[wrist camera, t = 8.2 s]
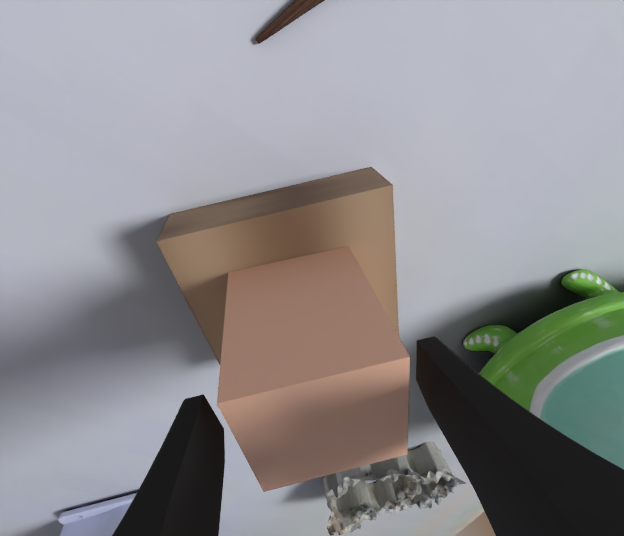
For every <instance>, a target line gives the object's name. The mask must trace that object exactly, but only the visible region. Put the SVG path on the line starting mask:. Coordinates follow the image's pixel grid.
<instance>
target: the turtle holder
mask: <svg viewBox="0 0 624 536" xmlns="http://www.w3.org/2000/svg"><path fill="white" fill-rule="evenodd" d="M561 284H562V285H563V286H564V287H565V288H566V289H568V290H570V291H572V292H574V293H576V294H578V295H581V296H583V297H585V298H586V299H587V300H584V301H581V302H578V303H575V304H572V305H570V306H568V307H565V308H563V309H561V310H558V311H556V312H554V313H552V314H550V315H548V316H546V317H544V318H542V319H540V320H539V321H537V322H535V323H533V324H532V325H530V326H528V327H527V328H525V329H524V330H522V331H521V332H520V333H516V332H515V331H513V330H512V329H510V328H508V327H506V326H503V325H489V326H485V327H482V328H479V329H477V330H476V331H474V332H472V333H471V334H469V335H468V336H467V337H466V338H465V340H464V342H463V345H464V347H465V348H466V349H468V350H471V351H490V352H492V353H494V354H495V355H494V356H493V357H492V358H491V359H490V360H489V362H488V363H487V364H486V365H485V366H484V368H483V369H482V370H481V371H480V372H479V374H480V375H481V376H483V377H484V378H485V379H486V380H488V381H489V382H490V383H492V384H493V385H494V386H495V387H497V388H498V389H499V390H501V391H502V392H503V393H505V394H506V395H507V396H509V397H510V398H511V399H513V400H514V401H515V402H517V403H518V404H520V405H521V406H522V407H524V408H525V409H527V410H528V411H529V412H531V413H532V414H534V415H535V416H537V417H538V418H540V419H541V420H543V421H544V422H546V423H547V424H549V425H550V426H552V427H553V428H555V429H556V430H558V431H560V432H561V433H563V434H564V435H566V436H567V437H569V438H571V439H572V440H574V441H576V442H577V443H579V444H580V445H582V446H584V447H585V448H587V449H589V450H590V451H592V452H594V453H595V454H597V455H599V456H601V457H602V458H604V459H606V460H608V461H610V462H611V463H613V464H615V465H617V466H619V467H620V468H622V469H624V292H618V291H617V290H616V289H615V288H614V287H613V286H611V285H610V284H609V283H608V282H606V281H605V280H604V279H603V278H601V277H600V276H598V275H597V274H595V273H593V272H591V271H589V270H577V271H573V272H571V273H569V274H567V275H565V276H564V277H563V278H562V281H561Z"/></svg>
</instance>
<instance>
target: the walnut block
mask: <svg viewBox="0 0 624 536" xmlns="http://www.w3.org/2000/svg"><path fill="white" fill-rule="evenodd" d="M156 242H157V244H158V246H159V248H160V250H161V252H162V254H163V256H164V258H165V260H166V262H167V264H168V265H169V267H170V269H171V271H172V273H173V275H174V277H175V279H176V281H177V283H178V285H179V287H180V289H181V291H182V293H183V294H184V296H185V298H186V300H187V302H188V304H189V306H190V308H191V310H192V312H193V314H194V316H195V318H196V320H197V322H198V323H199V325H200V327H201V329H202V331H203V333H204V335H205V337H206V339H207V341H208V343H209V345H210V347H211V349H212V351H213V352H214V354H215V356H216V358H217V360H218V362H219V364H221V352H222V341H223V329H224V317H225V306H226V294H227V283H228V272H233V271H238V270H242V269H247V268H251V267H256V266H260V265H265V264H269V263H274V262H278V261H283V260H288V259H292V258H297V257H301V256H306V255H310V254H315V253H319V252H324V251H328V250H333V249H338V248H342V247H347V246H349V247H350V249H351V251H352V253H353V254H354V256H355V258H356V260H357V262H358V264H359V265H360V267H361V269H362V271H363V273H364V274H365V276H366V278H367V280H368V282H369V283H370V285H371V287H372V289H373V291H374V293H375V294H376V296H377V298H378V300H379V302H380V303H381V305H382V307H383V309H384V311H385V312H386V314H387V316H388V318H389V320H390V322H391V323H392V325H393V327H394V329H395V331H396V332H397V334H398V336H399V327H398V303H397V279H396V255H395V230H394V206H393V185H392V184H391V183H390V182H389V181H387V180H386V179H385V178H384V177H383V176H382V175H380V174H379V173H378V172H377V171H376V170H375V169H373V168H372V167H369V168H365V169H360V170H356V171H352V172H348V173H343V174H339V175H335V176H330V177H326V178H322V179H318V180H313V181H309V182H305V183H301V184H296V185H292V186H288V187H284V188H279V189H275V190H271V191H267V192H262V193H258V194H254V195H249V196H245V197H241V198H237V199H232V200H228V201H224V202H220V203H215V204H211V205H207V206H203V207H198V208H194V209H190V210H185V211H181V212H177V213H173V214H170V215H169V217H168V219H167V221H166V223H165V225H164V227H163V229H162V231H161V233H160V235H159V237H158V239H157V241H156Z"/></svg>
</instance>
